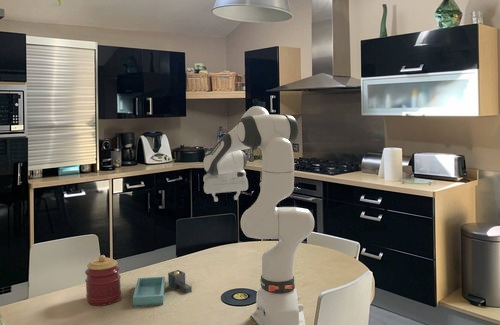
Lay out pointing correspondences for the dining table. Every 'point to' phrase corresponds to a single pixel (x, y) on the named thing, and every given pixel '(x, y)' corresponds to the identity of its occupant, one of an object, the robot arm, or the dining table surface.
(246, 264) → the dining table surface
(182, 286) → the link
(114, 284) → the canister
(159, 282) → the tray
